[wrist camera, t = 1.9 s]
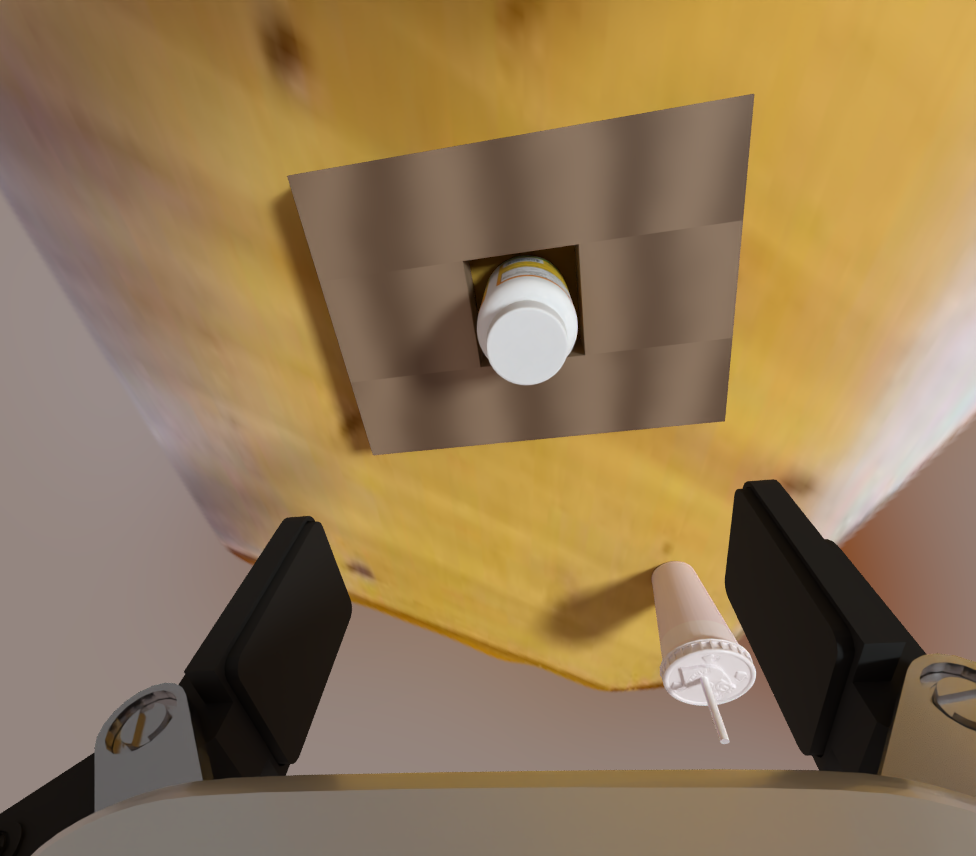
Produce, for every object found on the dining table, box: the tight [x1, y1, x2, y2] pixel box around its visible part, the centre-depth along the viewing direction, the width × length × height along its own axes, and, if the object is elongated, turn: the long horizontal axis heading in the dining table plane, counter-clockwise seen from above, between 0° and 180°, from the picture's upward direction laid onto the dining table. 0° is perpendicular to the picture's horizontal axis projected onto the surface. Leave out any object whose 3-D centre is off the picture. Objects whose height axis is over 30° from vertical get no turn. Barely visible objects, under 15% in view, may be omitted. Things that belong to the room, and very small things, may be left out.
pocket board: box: [287, 94, 754, 455], centre depth 31 cm, size 24×18×3 cm
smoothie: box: [652, 561, 756, 744], centre depth 37 cm, size 6×6×14 cm
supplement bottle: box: [477, 255, 578, 385], centre depth 28 cm, size 5×5×10 cm
